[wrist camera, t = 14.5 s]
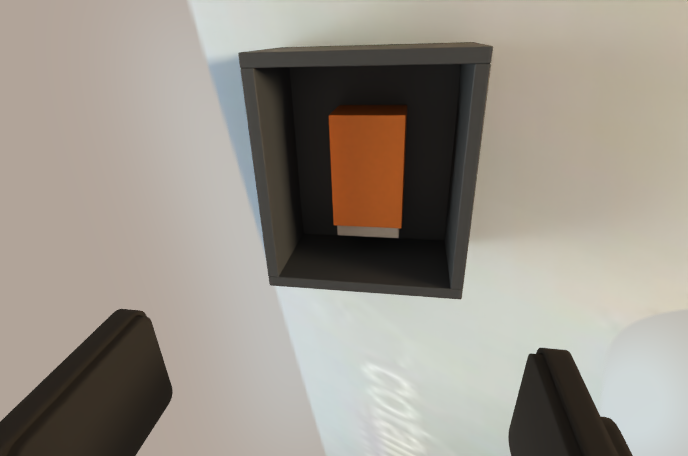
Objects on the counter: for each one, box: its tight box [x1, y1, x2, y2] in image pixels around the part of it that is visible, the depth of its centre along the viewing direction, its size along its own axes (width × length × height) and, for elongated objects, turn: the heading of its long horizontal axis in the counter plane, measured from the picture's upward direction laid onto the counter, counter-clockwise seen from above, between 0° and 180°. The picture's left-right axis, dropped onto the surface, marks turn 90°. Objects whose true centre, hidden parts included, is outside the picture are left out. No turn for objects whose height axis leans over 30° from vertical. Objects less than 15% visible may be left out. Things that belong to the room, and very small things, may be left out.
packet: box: [329, 105, 407, 238], centre depth 29 cm, size 9×5×4 cm, turn 2°
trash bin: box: [238, 42, 493, 299], centre depth 28 cm, size 16×14×8 cm
